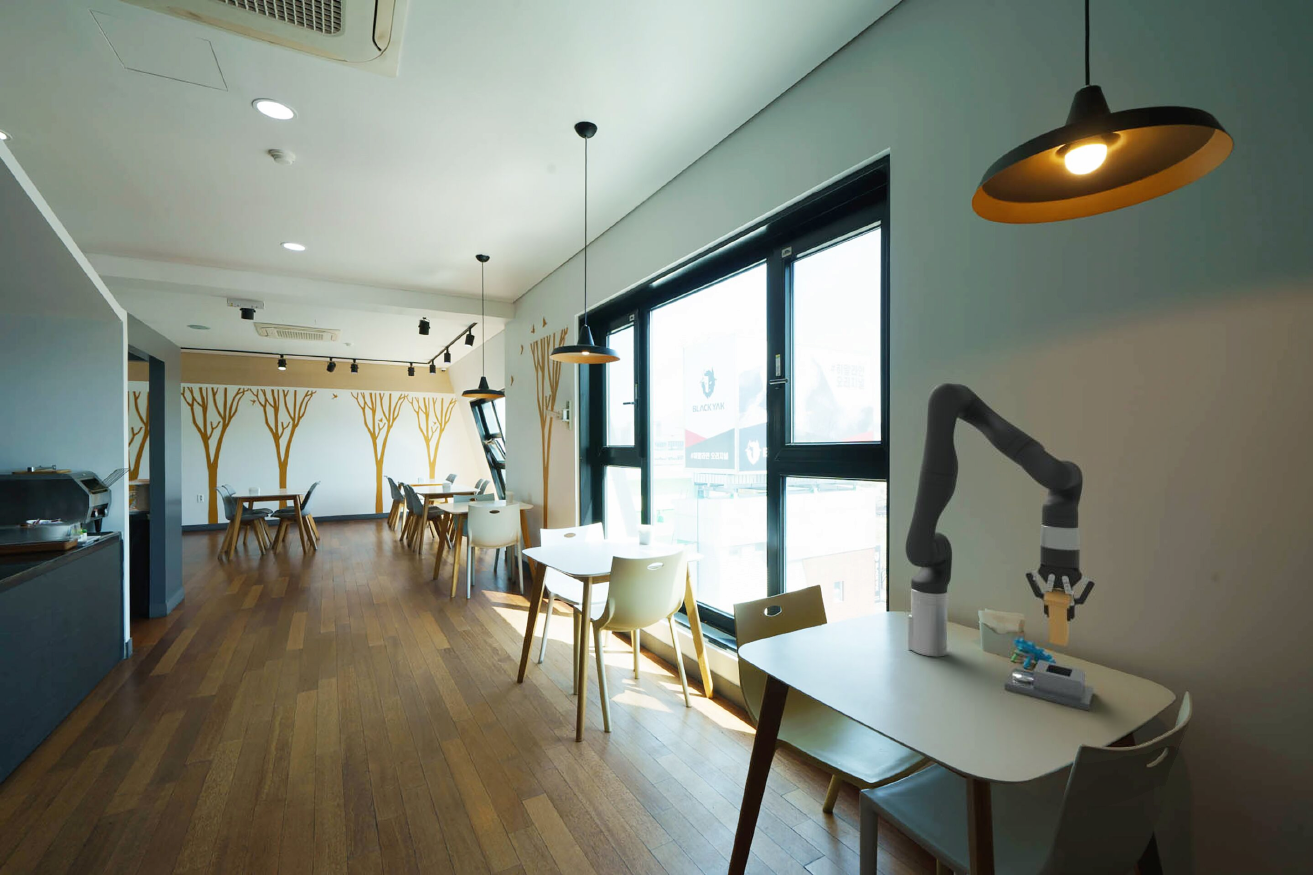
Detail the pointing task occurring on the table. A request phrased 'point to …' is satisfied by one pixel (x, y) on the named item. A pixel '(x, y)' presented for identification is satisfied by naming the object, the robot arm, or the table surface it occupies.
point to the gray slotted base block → (1053, 684)
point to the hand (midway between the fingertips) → (1059, 618)
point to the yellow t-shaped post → (1058, 615)
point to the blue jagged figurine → (1030, 652)
